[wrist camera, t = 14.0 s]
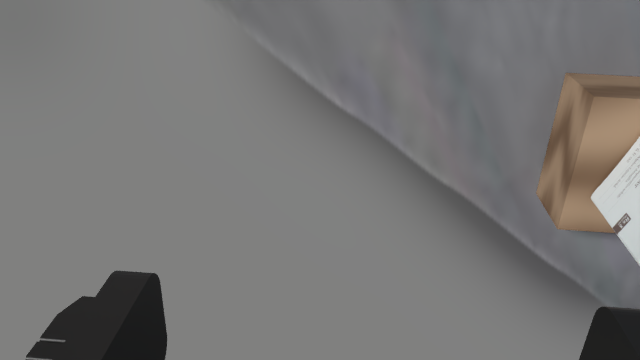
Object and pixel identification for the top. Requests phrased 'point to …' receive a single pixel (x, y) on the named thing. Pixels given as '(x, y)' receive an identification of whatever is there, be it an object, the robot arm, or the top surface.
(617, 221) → the skincare box
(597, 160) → the light brown block
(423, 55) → the top surface
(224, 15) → the top surface
